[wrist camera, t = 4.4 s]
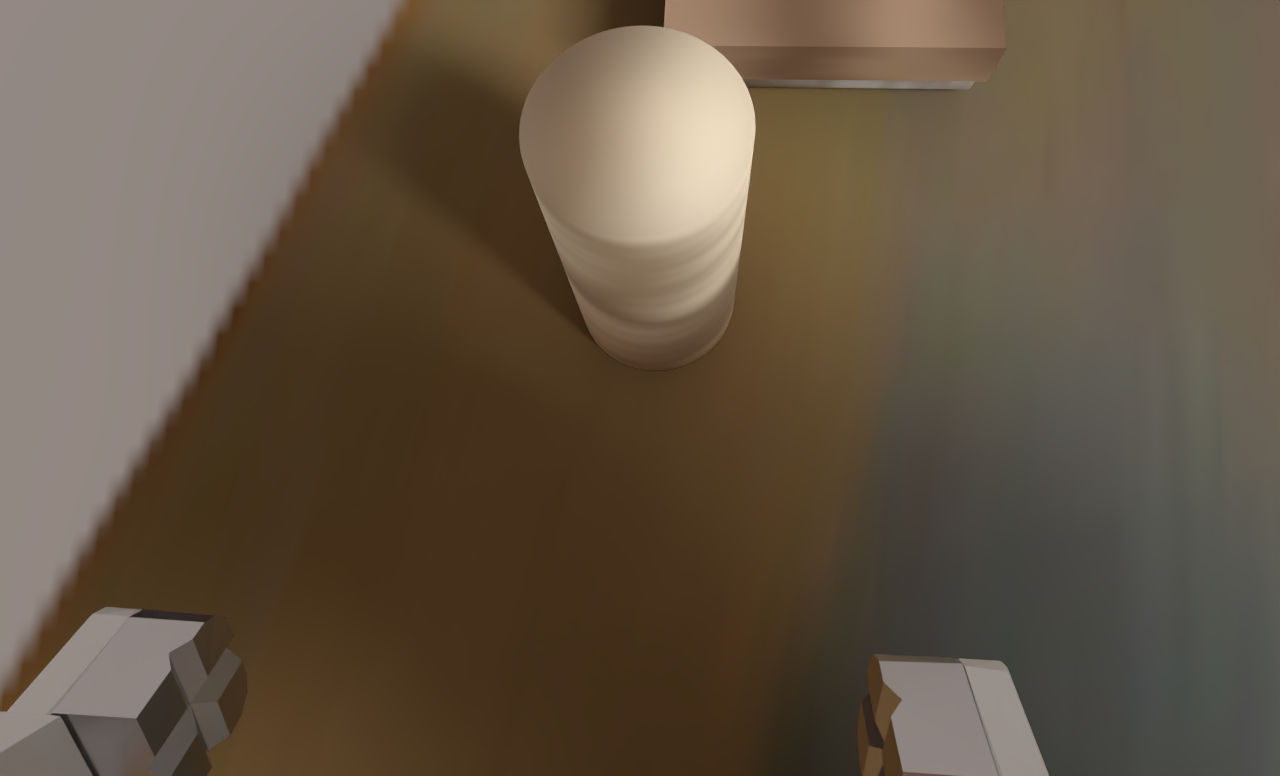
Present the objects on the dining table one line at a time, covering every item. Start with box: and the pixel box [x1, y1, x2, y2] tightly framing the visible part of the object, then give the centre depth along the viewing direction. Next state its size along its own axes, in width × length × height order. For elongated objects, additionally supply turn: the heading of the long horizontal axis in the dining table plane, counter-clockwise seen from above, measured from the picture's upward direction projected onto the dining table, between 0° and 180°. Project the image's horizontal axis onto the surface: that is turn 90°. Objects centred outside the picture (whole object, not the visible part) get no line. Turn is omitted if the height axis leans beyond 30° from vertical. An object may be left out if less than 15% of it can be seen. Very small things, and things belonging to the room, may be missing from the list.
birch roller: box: [519, 26, 756, 371], centre depth 22 cm, size 5×5×10 cm
